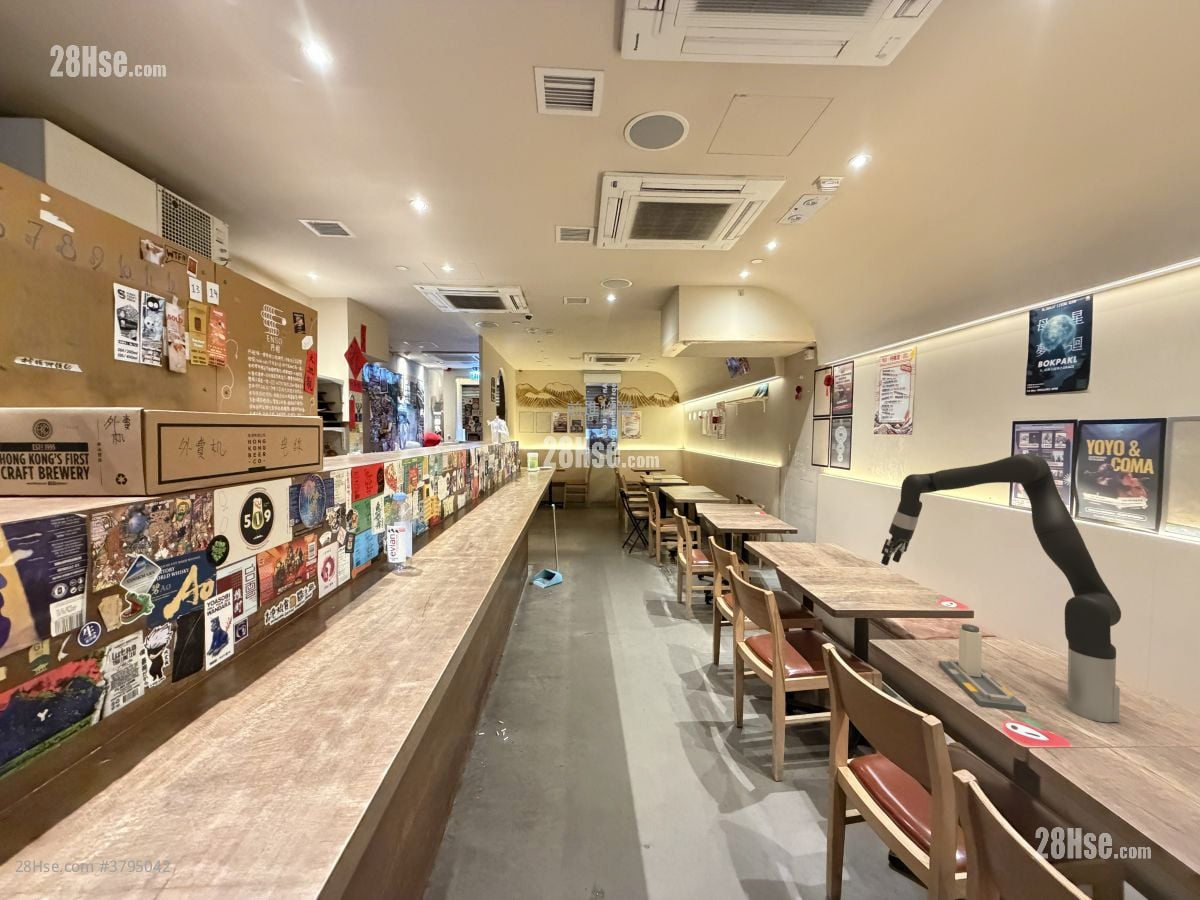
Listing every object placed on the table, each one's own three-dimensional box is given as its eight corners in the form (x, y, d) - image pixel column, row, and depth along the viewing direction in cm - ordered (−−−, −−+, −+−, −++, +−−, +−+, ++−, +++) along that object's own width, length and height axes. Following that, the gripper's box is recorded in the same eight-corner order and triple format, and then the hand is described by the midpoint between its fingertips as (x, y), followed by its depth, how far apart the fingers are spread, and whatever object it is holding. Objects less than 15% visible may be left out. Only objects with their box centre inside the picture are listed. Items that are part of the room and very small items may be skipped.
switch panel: (938, 664, 159) (938, 656, 159) (976, 668, 157) (976, 660, 157) (980, 706, 134) (980, 697, 134) (1026, 711, 131) (1026, 702, 131)
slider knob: (957, 668, 153) (958, 623, 153) (973, 669, 152) (974, 624, 152) (965, 675, 148) (966, 629, 148) (982, 677, 147) (982, 630, 147)
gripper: (904, 531, 169) (890, 570, 173) (923, 527, 177) (909, 565, 181) (883, 522, 175) (870, 560, 179) (902, 518, 183) (889, 555, 187)
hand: (889, 562), depth 180 cm, fingers open, 8 cm apart
